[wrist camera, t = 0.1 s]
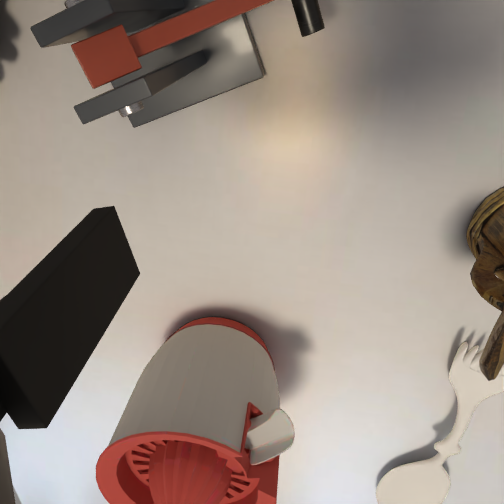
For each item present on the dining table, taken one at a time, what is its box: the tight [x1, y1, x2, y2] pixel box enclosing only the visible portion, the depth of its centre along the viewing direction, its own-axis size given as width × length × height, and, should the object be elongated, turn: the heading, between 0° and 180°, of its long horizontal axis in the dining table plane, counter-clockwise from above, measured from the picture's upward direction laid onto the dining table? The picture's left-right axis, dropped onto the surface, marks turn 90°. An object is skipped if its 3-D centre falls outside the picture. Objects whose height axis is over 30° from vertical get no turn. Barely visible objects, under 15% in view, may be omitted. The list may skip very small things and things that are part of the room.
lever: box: [71, 0, 325, 89], centre depth 24 cm, size 14×6×2 cm
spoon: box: [376, 342, 504, 504], centre depth 51 cm, size 9×32×4 cm, turn 171°
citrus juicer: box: [96, 317, 295, 504], centre depth 42 cm, size 16×17×20 cm
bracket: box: [31, 0, 265, 128], centre depth 28 cm, size 12×10×15 cm
